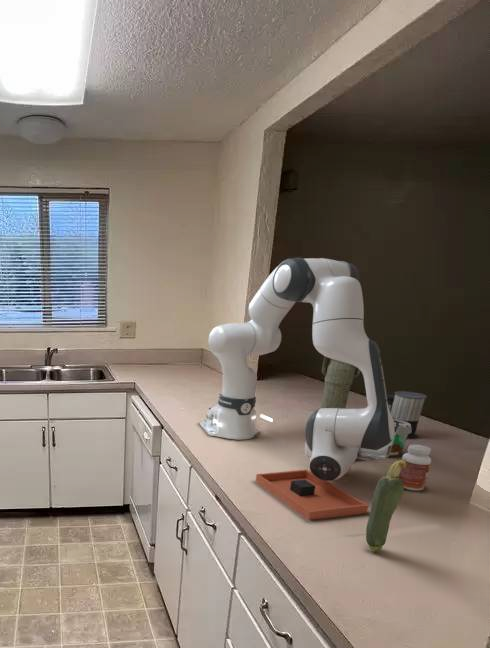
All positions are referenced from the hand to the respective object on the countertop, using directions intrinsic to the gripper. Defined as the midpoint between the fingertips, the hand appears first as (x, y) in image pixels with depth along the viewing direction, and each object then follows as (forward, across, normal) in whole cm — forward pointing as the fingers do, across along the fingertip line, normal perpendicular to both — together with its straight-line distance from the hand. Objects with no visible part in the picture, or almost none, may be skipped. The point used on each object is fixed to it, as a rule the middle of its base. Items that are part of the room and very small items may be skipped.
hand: (350, 438), depth 128 cm
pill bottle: (-7, -17, +8) cm, 20 cm away
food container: (+20, -10, +8) cm, 24 cm away
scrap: (-30, +4, +7) cm, 32 cm away
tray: (-32, +2, +8) cm, 33 cm away
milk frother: (+39, -7, +8) cm, 41 cm away
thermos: (+34, +12, +8) cm, 37 cm away
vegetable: (-47, -14, +8) cm, 50 cm away
